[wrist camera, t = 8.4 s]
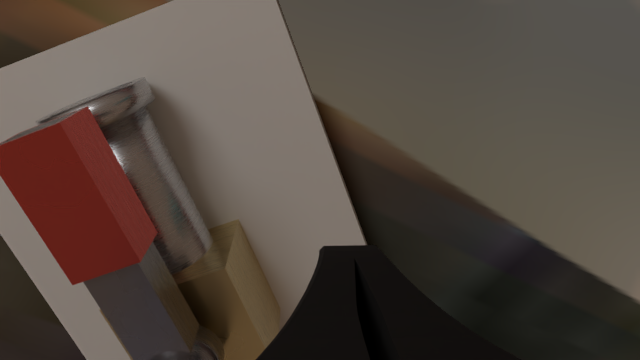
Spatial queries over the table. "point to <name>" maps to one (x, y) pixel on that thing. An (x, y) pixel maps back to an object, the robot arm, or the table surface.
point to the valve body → (186, 228)
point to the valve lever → (102, 235)
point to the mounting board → (196, 141)
